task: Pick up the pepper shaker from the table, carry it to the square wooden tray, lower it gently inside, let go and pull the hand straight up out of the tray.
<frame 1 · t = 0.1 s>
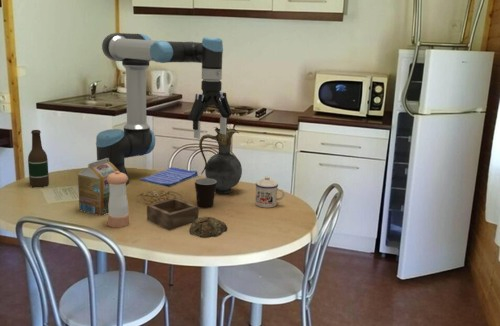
hand: (210, 136, 185), 28 cm above the table, tool pointing down, fingers open, 13 cm apart
dish towel: (170, 179, 226), on the table
bread roll: (207, 231, 167), on the table
teacup with lid: (269, 205, 195), on the table
pitcher: (219, 191, 210), on the table
pepper shaker: (118, 224, 169), on the table
beer bottle: (39, 185, 206), on the table
milk carton: (100, 209, 182), on the table
square wooden tray: (172, 220, 174), on the table
coffee mug: (206, 204, 192), on the table
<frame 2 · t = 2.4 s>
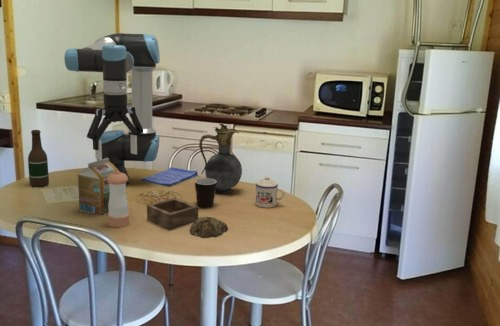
hand: (116, 156, 163), 24 cm above the table, tool pointing down, fingers open, 13 cm apart
nothing on the table moved.
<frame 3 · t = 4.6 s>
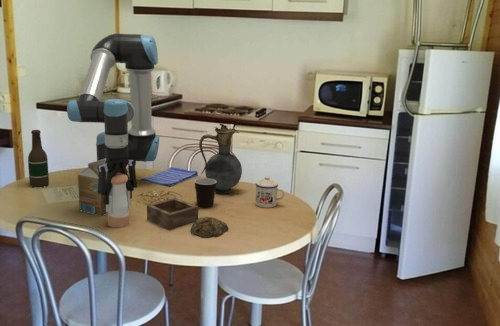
hand: (118, 210, 168), 5 cm above the table, tool pointing down, fingers closed on pepper shaker, 7 cm apart
pepper shaker: (118, 224, 169), on the table, touching gripper
everything else where it was.
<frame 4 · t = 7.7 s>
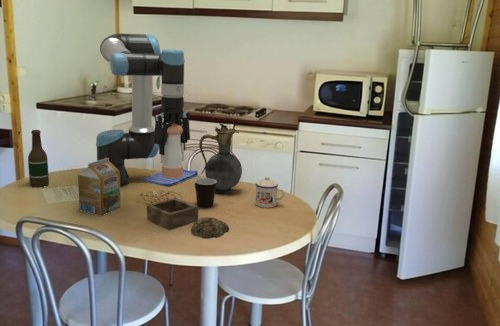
hand: (172, 161, 168), 22 cm above the table, tool pointing down, fingers closed on pepper shaker, 7 cm apart
pepper shaker: (172, 176, 170), point 17 cm above the table, touching gripper
everything else where it was.
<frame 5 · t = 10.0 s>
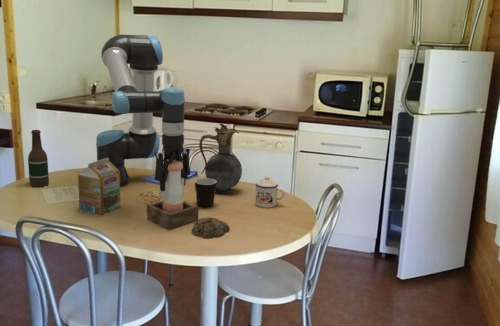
hand: (172, 196, 172), 9 cm above the table, tool pointing down, fingers closed on pepper shaker, 7 cm apart
pepper shaker: (172, 210, 173), point 4 cm above the table, touching gripper
when the fingers open (8 cm above the table, at t = 11.1 s): pepper shaker drops 2 cm, resting on square wooden tray.
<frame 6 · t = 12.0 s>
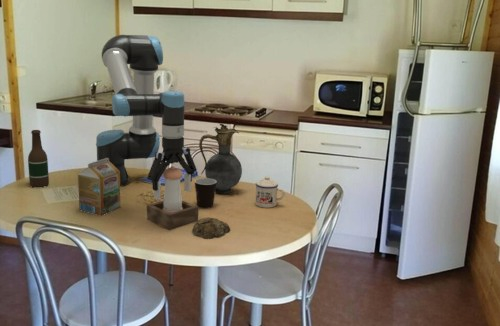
hand: (172, 194, 172), 10 cm above the table, tool pointing down, fingers open, 13 cm apart
pepper shaker: (172, 218, 174), point 1 cm above the table, touching square wooden tray
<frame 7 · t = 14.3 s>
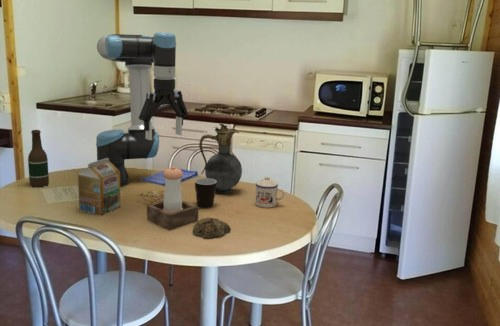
hand: (164, 136, 175), 29 cm above the table, tool pointing down, fingers open, 13 cm apart
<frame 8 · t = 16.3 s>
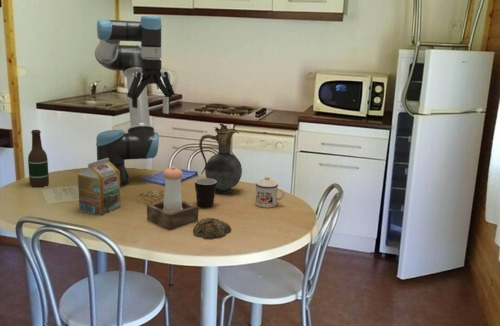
hand: (151, 114, 186), 35 cm above the table, tool pointing down, fingers open, 13 cm apart
at the end: pepper shaker 0.1 cm off-centre on the square wooden tray, point 0.8 cm above the square wooden tray's base; pepper shaker tilted 0°; the gripper is holding nothing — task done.
